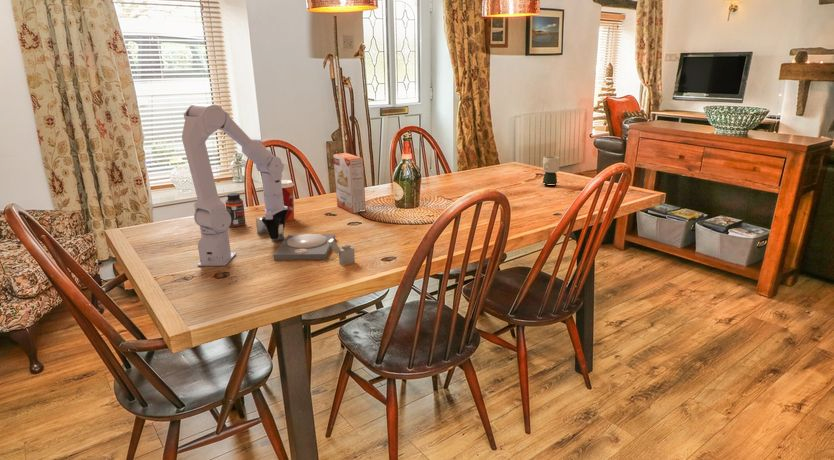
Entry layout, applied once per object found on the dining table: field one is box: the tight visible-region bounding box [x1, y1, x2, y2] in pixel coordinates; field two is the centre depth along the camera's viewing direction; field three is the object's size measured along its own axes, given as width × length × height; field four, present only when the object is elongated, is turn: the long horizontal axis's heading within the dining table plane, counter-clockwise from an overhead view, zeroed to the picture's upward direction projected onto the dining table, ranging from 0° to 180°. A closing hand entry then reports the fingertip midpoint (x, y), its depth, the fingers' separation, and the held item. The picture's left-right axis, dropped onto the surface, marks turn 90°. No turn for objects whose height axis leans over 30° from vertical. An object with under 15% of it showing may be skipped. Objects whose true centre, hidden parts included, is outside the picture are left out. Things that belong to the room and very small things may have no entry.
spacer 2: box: [271, 223, 285, 243], centre depth 167 cm, size 4×4×5 cm
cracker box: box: [333, 152, 367, 214], centre depth 199 cm, size 14×6×21 cm, turn 33°
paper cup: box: [281, 179, 295, 223], centre depth 188 cm, size 8×8×14 cm
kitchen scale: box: [272, 233, 336, 261], centre depth 159 cm, size 18×15×2 cm
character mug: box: [542, 155, 561, 184], centre depth 231 cm, size 11×7×13 cm, turn 133°
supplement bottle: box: [225, 192, 246, 228], centre depth 182 cm, size 6×6×11 cm
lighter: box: [328, 239, 356, 266], centre depth 145 cm, size 7×2×8 cm, turn 124°
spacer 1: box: [255, 216, 269, 235], centre depth 175 cm, size 4×4×5 cm
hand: (277, 234), depth 167 cm, fingers open, 7 cm apart
